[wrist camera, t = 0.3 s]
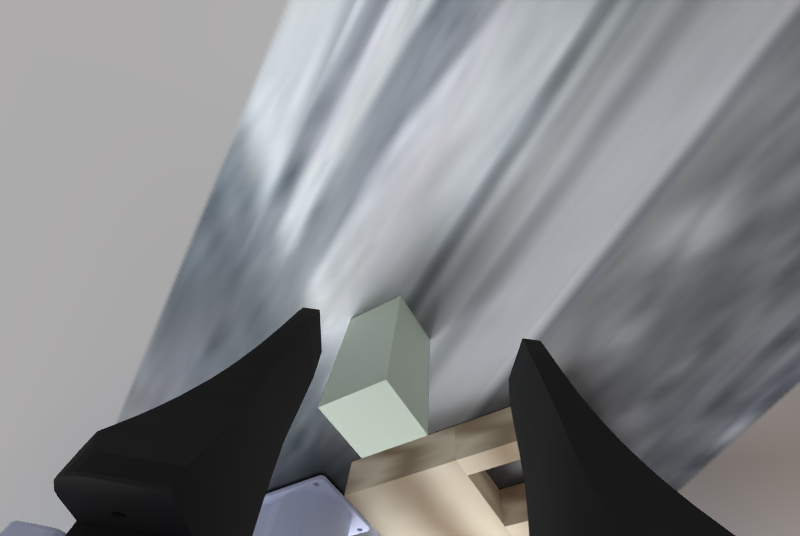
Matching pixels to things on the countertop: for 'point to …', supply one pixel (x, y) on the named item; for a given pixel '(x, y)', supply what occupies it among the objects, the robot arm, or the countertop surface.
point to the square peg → (380, 380)
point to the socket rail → (443, 483)
